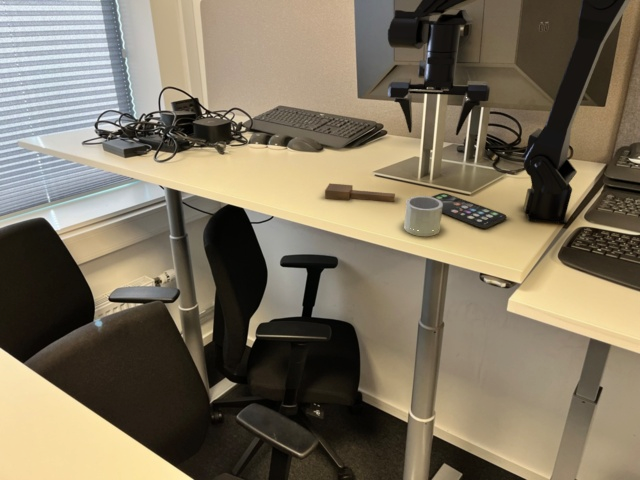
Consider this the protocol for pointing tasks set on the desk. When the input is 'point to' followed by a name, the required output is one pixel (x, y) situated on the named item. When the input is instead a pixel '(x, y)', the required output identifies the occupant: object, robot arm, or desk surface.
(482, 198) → the desk surface
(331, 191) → the brown block with handle
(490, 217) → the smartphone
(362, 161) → the desk surface
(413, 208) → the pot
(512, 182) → the desk surface
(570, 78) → the robot arm
